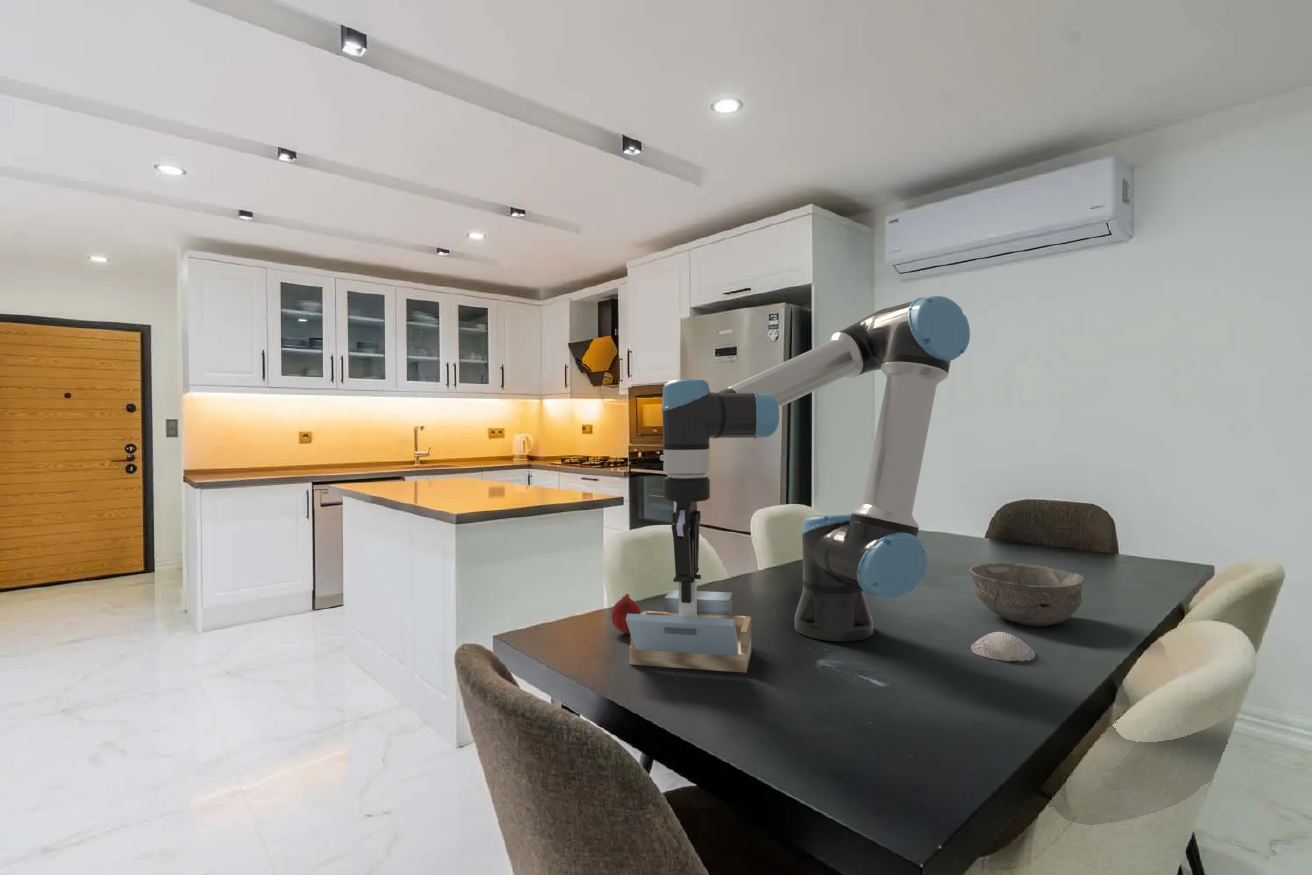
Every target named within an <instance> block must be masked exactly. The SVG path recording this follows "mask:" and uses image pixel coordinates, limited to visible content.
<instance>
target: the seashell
mask: <svg viewBox="0 0 1312 875" xmlns="http://www.w3.org/2000/svg"><path fill="white" fill-rule="evenodd" d="M970 648H971V649H970V650H971V651H972V653H974V655H975V654H976V655H978V656H980V657H983V658H987V659H991V660H997V661H1003V662H1015V661H1016V662H1026V661H1027V662H1029V661H1031V660H1034V659H1035V658H1036V653H1035V650H1033V649H1032V647H1030V646H1029V645H1028V644H1027V643H1025V642H1024V641H1023V640H1022V639H1020V638H1019V637H1018V636H1016V635H1014V634H1013V635H1012V633H1009V632H1007V633H1006V632H1004V631H994V632H990V633H987V634H986V635H983V636H981V637H980V638H978V640H976V641H974V642H973V643H972V644H971V645H970Z"/></svg>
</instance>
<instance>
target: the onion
mask: <svg viewBox="0 0 1312 875" xmlns="http://www.w3.org/2000/svg"><path fill="white" fill-rule="evenodd" d="M641 613H642V611H641V610H640V607H639V605H638V603H637V602H636V601H635V600H633V599H632V598H630V594H629V593H628V592H627V593H624V594H623V595H622V597H621V599H619V600H618V601H617V602H616V603H615V604H614V605H613V607H612V610H611V621H612V624H613V626H614V627H615V628H616V629H617V630H618V631H619V632H621V633H622V634H624V635H628V634H630V631H629V628H628V625H627V622H626V617H627V614H641Z"/></svg>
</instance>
